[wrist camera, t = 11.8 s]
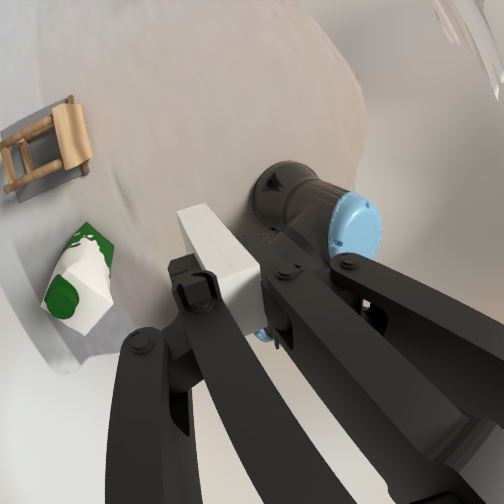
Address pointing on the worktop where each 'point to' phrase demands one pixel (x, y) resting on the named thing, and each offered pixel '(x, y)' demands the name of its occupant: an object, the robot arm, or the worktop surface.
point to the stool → (69, 138)
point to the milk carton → (81, 281)
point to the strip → (84, 164)
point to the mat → (39, 156)
